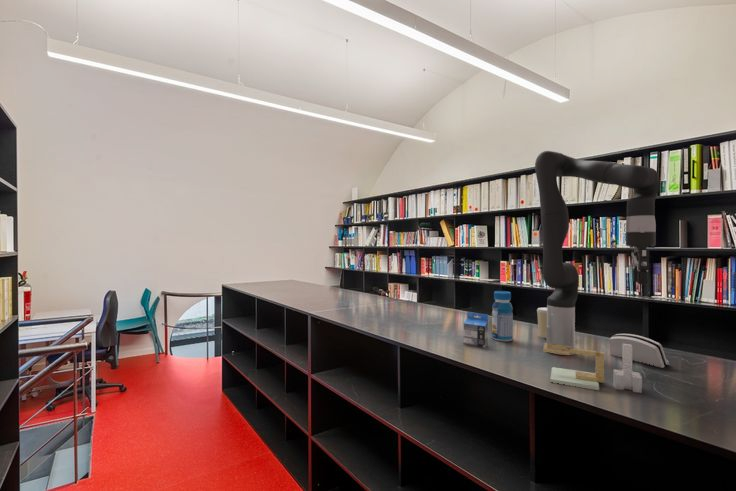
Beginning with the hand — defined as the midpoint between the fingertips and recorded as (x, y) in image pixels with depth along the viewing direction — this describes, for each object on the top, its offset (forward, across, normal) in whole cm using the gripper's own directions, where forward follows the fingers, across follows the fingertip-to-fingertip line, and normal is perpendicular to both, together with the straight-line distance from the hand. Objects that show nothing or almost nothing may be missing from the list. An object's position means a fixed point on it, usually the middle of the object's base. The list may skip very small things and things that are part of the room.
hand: (640, 283), depth 115 cm
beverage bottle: (+28, -23, -44) cm, 57 cm away
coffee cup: (+28, -38, -27) cm, 55 cm away
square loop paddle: (+27, +16, -18) cm, 36 cm away
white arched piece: (+28, -16, +1) cm, 33 cm away
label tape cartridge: (+28, -9, -52) cm, 60 cm away
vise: (+28, +13, -5) cm, 31 cm away
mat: (+28, +16, -18) cm, 37 cm away
